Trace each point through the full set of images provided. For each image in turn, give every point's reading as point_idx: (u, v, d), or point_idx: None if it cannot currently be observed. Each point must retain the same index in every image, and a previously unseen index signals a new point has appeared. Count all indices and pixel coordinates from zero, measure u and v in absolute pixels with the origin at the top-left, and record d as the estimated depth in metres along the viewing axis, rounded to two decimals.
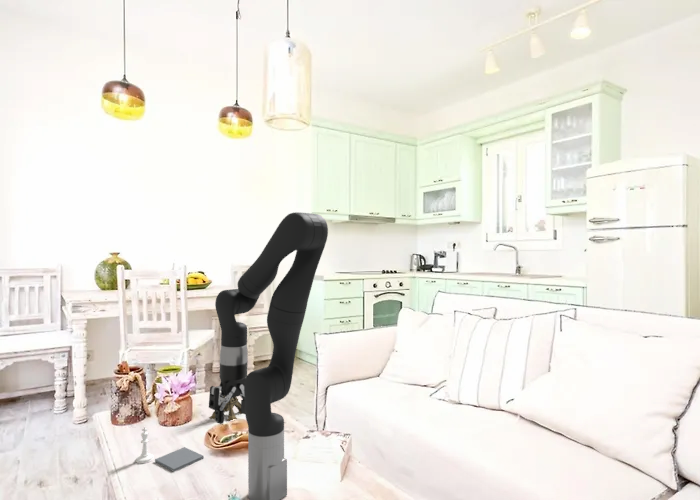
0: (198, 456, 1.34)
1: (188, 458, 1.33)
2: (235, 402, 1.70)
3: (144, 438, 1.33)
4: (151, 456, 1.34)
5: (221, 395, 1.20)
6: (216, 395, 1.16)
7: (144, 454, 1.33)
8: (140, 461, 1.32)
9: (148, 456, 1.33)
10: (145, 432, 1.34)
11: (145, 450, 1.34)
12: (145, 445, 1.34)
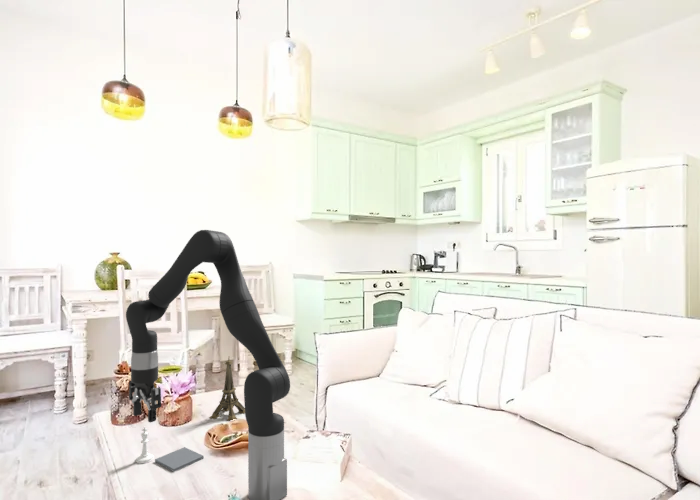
0: (198, 456, 1.34)
1: (188, 458, 1.33)
2: (235, 402, 1.70)
3: (144, 438, 1.33)
4: (151, 456, 1.34)
5: None
6: None
7: (144, 454, 1.33)
8: (140, 461, 1.32)
9: (148, 456, 1.33)
10: (145, 432, 1.34)
11: (145, 450, 1.34)
12: (145, 445, 1.34)
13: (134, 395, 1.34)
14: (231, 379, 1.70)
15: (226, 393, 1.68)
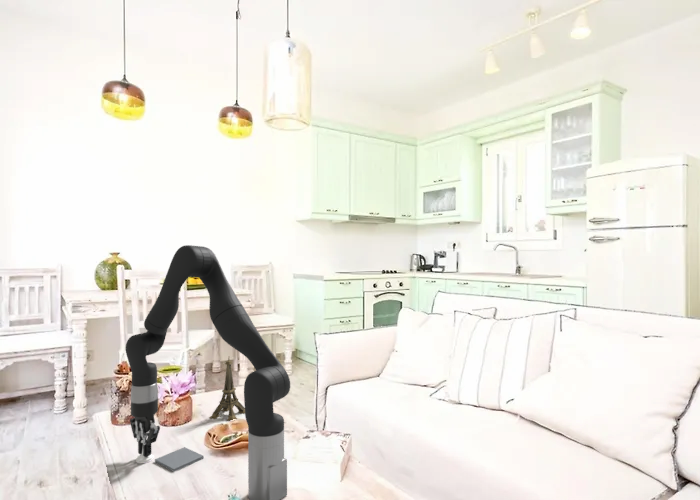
0: (198, 456, 1.34)
1: (188, 458, 1.33)
2: (235, 402, 1.70)
3: None
4: (151, 456, 1.34)
5: None
6: None
7: None
8: (140, 461, 1.32)
9: (148, 456, 1.33)
10: None
11: None
12: None
13: (136, 430, 1.33)
14: (231, 379, 1.70)
15: (226, 393, 1.68)
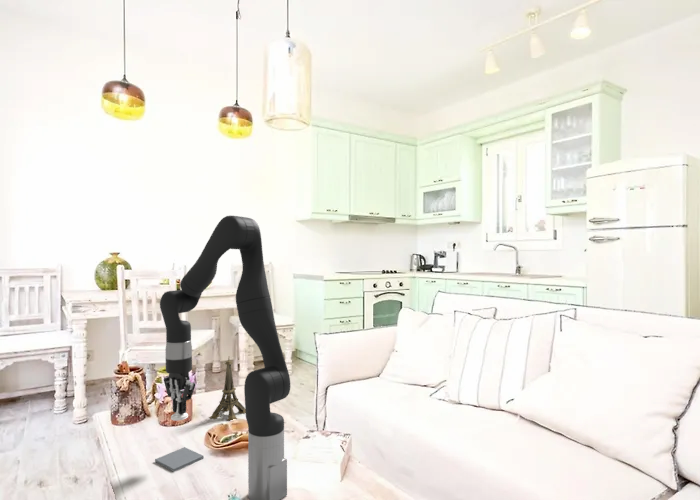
0: (198, 456, 1.34)
1: (188, 458, 1.33)
2: (235, 402, 1.70)
3: None
4: (186, 414, 1.33)
5: None
6: None
7: None
8: (175, 418, 1.31)
9: (183, 414, 1.33)
10: (180, 390, 1.33)
11: None
12: None
13: (171, 388, 1.33)
14: (231, 379, 1.70)
15: (226, 393, 1.68)
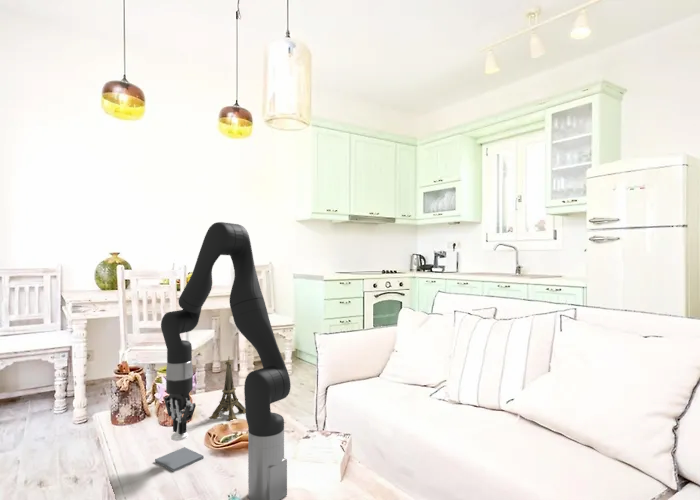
0: (198, 456, 1.34)
1: (188, 458, 1.33)
2: (235, 402, 1.70)
3: None
4: (186, 434, 1.34)
5: None
6: None
7: None
8: (176, 438, 1.31)
9: (183, 434, 1.33)
10: None
11: None
12: None
13: (171, 408, 1.33)
14: (231, 379, 1.70)
15: (226, 393, 1.68)
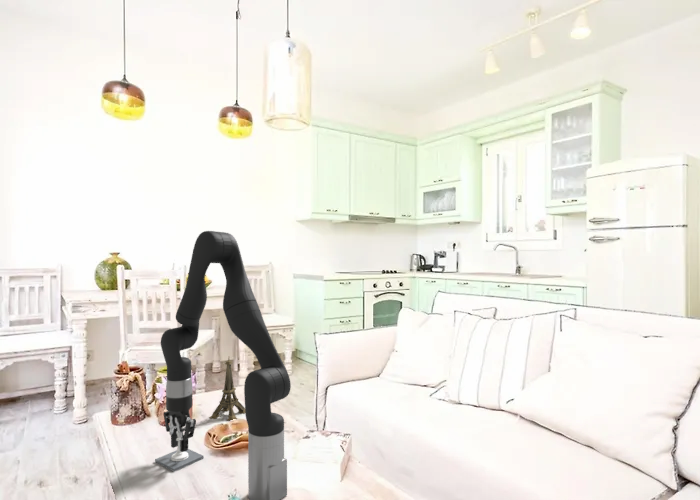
0: (198, 456, 1.34)
1: (188, 458, 1.33)
2: (235, 402, 1.70)
3: (179, 436, 1.33)
4: (186, 454, 1.34)
5: None
6: None
7: (179, 452, 1.33)
8: (176, 459, 1.31)
9: (183, 454, 1.33)
10: None
11: None
12: None
13: (170, 425, 1.33)
14: (231, 379, 1.70)
15: (226, 393, 1.68)
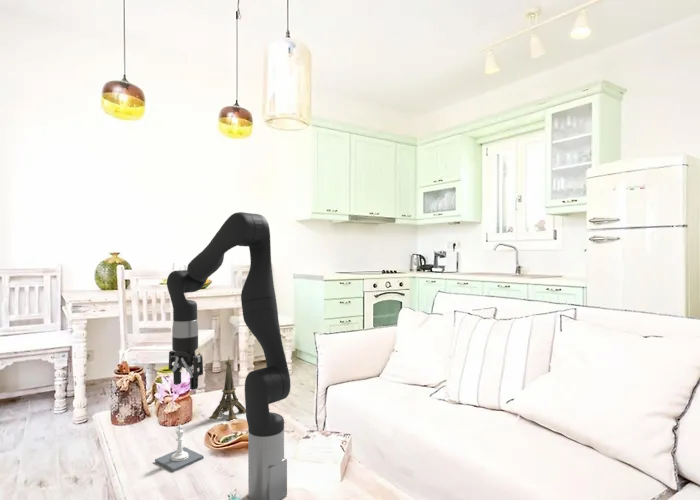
0: (198, 456, 1.34)
1: (188, 458, 1.33)
2: (235, 402, 1.70)
3: (179, 436, 1.33)
4: (186, 454, 1.34)
5: None
6: None
7: (179, 452, 1.33)
8: (176, 459, 1.31)
9: (183, 454, 1.33)
10: (180, 430, 1.33)
11: (180, 448, 1.33)
12: (180, 443, 1.33)
13: (175, 364, 1.36)
14: (231, 379, 1.70)
15: (226, 393, 1.68)
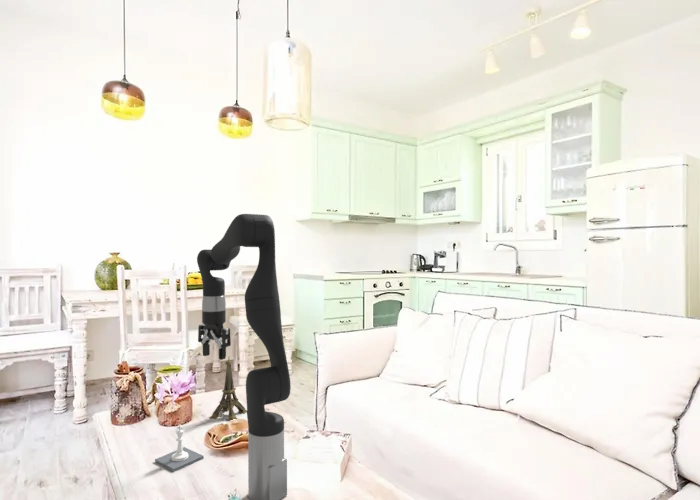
0: (198, 456, 1.34)
1: (188, 458, 1.33)
2: (235, 402, 1.70)
3: (179, 436, 1.33)
4: (186, 454, 1.34)
5: None
6: None
7: (179, 452, 1.33)
8: (176, 459, 1.31)
9: (183, 454, 1.33)
10: (180, 430, 1.33)
11: (180, 448, 1.33)
12: (180, 443, 1.33)
13: (204, 336, 1.47)
14: (231, 379, 1.70)
15: (226, 393, 1.68)
